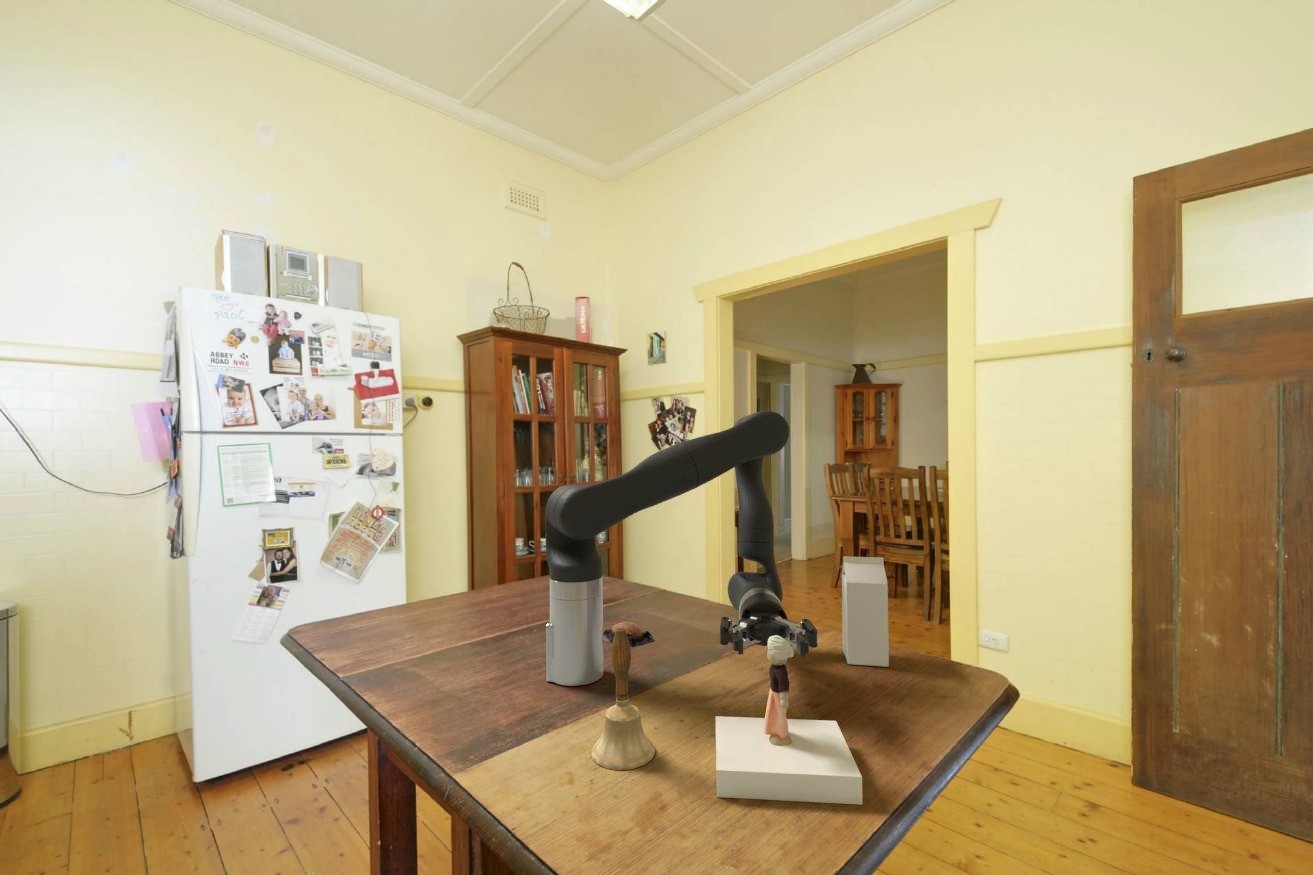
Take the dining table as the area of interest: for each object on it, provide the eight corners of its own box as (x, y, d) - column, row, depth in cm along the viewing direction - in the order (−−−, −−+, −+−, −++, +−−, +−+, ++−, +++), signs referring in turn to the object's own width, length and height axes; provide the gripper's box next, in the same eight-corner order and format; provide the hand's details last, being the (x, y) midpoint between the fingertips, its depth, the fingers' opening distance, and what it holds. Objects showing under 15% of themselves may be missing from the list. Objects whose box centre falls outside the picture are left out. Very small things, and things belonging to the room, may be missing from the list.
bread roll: (595, 640, 119) (594, 622, 119) (625, 631, 125) (625, 614, 125) (627, 652, 111) (627, 633, 111) (658, 642, 117) (658, 624, 117)
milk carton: (889, 667, 101) (887, 561, 101) (847, 665, 102) (845, 560, 103) (881, 653, 108) (879, 554, 108) (842, 651, 109) (841, 553, 110)
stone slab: (716, 797, 64) (716, 770, 64) (715, 738, 76) (715, 716, 77) (862, 804, 62) (862, 777, 62) (836, 743, 75) (836, 720, 75)
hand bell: (609, 778, 67) (608, 644, 68) (580, 747, 74) (580, 626, 75) (667, 758, 72) (666, 632, 72) (635, 730, 79) (634, 616, 79)
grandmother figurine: (755, 724, 74) (754, 627, 74) (783, 723, 74) (782, 626, 75) (773, 756, 66) (772, 647, 67) (805, 754, 67) (803, 646, 67)
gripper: (719, 591, 95) (720, 620, 79) (804, 593, 94) (823, 622, 78) (719, 636, 95) (720, 674, 79) (805, 638, 94) (824, 677, 78)
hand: (771, 648), depth 79 cm, fingers open, 8 cm apart
